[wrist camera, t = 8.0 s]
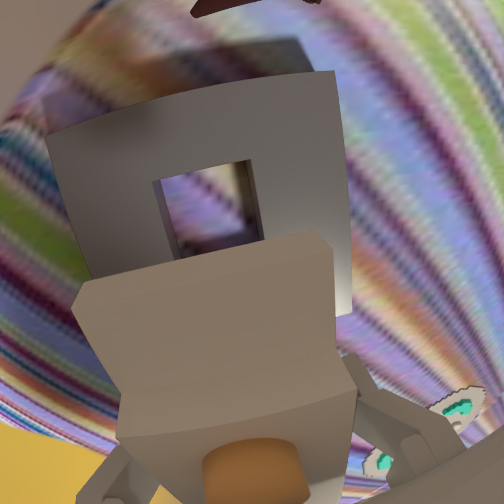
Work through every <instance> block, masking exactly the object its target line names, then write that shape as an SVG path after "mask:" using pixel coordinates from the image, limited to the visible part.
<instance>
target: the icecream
mask: <svg viewBox="0 0 504 504" xmlns="http://www.w3.org/2000/svg"><path fill="white" fill-rule="evenodd" d="M256 1H261V0H198V1H197V2H196V3H195V5H194V6H193V8H192V9H191V11H190V14H191V15H192V16H193V17H194V18H199V17H202V16H206V15H209V14H212V13H215V12H219V11H222V10H225V9H229V8H232V7H236V6H240V5H244V4H248V3H252V2H256ZM303 1H305V2H307V3H309V4H313V3H317V4H320V3H321V1H322V0H303Z"/></svg>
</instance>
